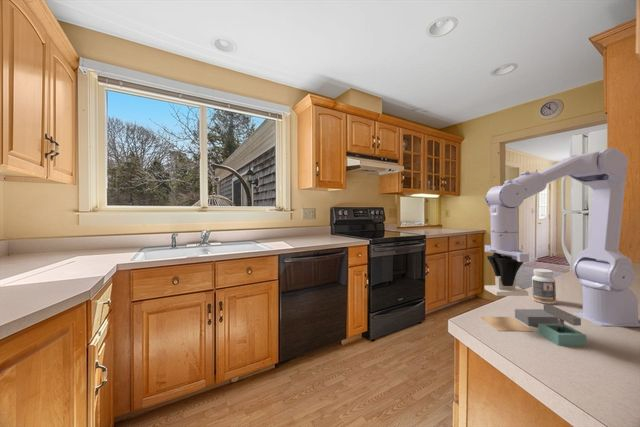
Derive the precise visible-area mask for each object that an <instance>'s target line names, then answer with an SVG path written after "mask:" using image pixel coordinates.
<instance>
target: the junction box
mask: <svg viewBox="0 0 640 427" xmlns="http://www.w3.org/2000/svg"><path fill="white" fill-rule="evenodd" d="M514 319H516V320H517V321H519V322H520V323H521V322H522V324H523V323H524V324H525V326H526V325H527V327H538V323H544V324H558V317H556V316H554V315H551V314H549V313H547V312H545V311H544V308H543V309H540V308H539V309H535V308H534V309H532V308H530V309H527V308H526V309H524V308H523V309H522V308H520V309H519V308H515V309H514Z"/></svg>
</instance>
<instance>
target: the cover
mask: <svg viewBox="0 0 640 427" xmlns="http://www.w3.org/2000/svg"><path fill="white" fill-rule="evenodd" d="M494 280H495V281H494V282H495V285H494V284H493V285H484V290H485V291H487V292H489V293H491V294H493V295H495V296H496V297H501V296H502V297H509V296H510V297H512V296H513V297H514V296H515V297H516V296H517V297H518V296H519V297H521V296H522V297H526V296H529V291H528V290H525V289H523V288H521V287H519V286H517V285H516V284H517V283H516V279H515V280H514V283H513V286H503V285H502V281H501V276H495V275H494Z"/></svg>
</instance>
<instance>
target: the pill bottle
mask: <svg viewBox="0 0 640 427" xmlns="http://www.w3.org/2000/svg"><path fill="white" fill-rule="evenodd" d="M533 274H534V275H533V276H532V277H531V293H532V294H531V295H532V296H531V297H532V300H533V301H534V302H537V303H540V304H550V305H554V304H555V303H557V292H556V291H557V288H556V279H555V278H554V277H553V276H554V271H553V270H551V269H545V268H534V269H533Z"/></svg>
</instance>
